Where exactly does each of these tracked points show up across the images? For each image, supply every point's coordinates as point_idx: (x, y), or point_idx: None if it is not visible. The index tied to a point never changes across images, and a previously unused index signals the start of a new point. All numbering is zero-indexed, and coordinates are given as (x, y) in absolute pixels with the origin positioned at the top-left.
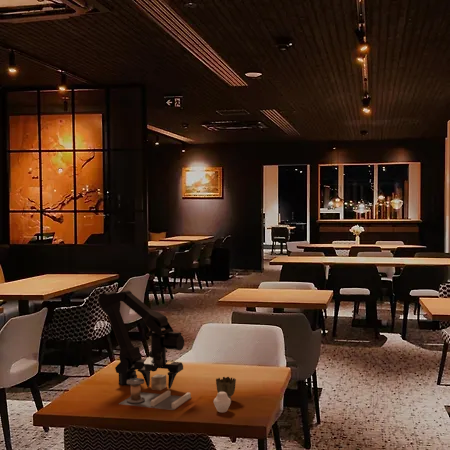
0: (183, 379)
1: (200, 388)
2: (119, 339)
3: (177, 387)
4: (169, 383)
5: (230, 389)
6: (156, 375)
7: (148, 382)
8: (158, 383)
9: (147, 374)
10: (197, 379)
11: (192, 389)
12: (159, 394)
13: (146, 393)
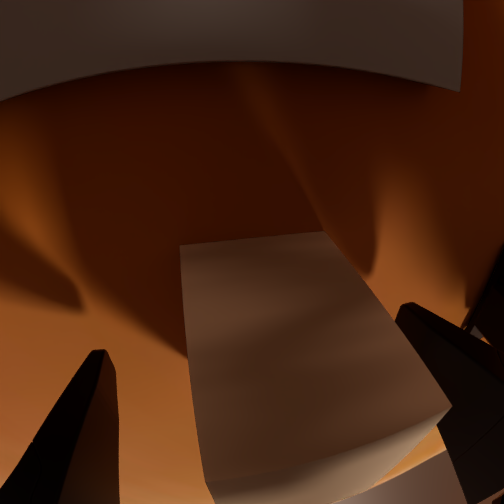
0: None
1: (16, 436)
2: None
3: (155, 428)
4: (65, 411)
5: None
6: (365, 480)
7: (425, 347)
8: (242, 355)
9: (488, 421)
10: (160, 496)
11: (29, 420)
12: (56, 48)
13: (336, 18)
